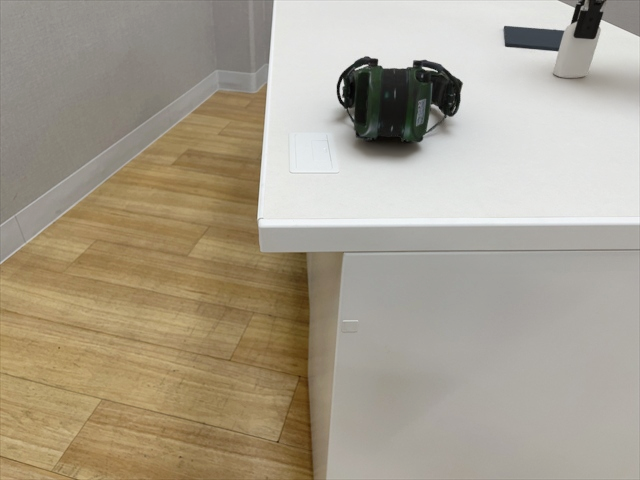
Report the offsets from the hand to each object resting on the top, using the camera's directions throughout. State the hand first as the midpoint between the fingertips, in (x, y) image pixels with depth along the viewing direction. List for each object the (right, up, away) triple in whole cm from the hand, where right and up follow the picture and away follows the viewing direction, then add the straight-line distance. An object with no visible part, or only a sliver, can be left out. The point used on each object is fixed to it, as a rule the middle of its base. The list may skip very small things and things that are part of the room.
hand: (581, 33), depth 82 cm
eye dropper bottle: (0, -6, +4) cm, 7 cm away
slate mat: (+3, +8, +24) cm, 25 cm away
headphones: (-33, -18, -15) cm, 41 cm away
